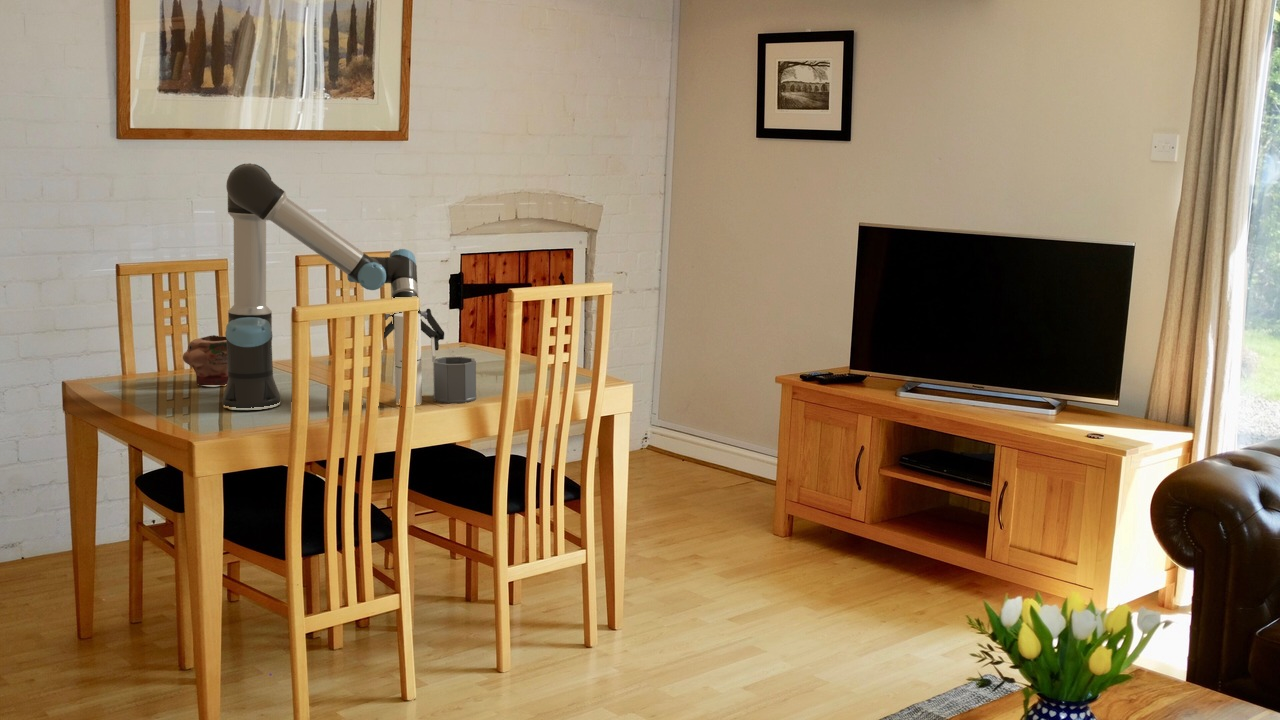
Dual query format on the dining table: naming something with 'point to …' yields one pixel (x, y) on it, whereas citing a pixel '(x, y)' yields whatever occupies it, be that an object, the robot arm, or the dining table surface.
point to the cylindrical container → (398, 356)
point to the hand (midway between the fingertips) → (408, 359)
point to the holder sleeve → (454, 379)
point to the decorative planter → (208, 360)
